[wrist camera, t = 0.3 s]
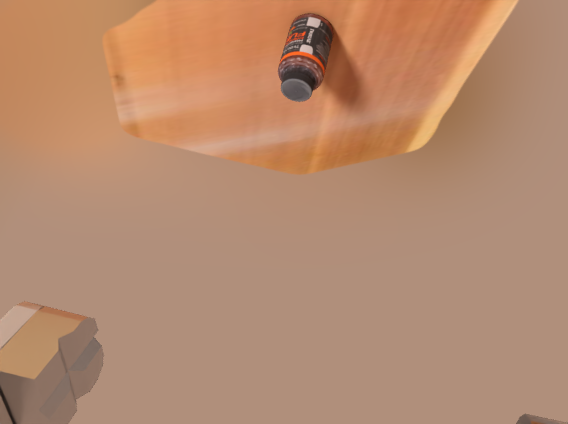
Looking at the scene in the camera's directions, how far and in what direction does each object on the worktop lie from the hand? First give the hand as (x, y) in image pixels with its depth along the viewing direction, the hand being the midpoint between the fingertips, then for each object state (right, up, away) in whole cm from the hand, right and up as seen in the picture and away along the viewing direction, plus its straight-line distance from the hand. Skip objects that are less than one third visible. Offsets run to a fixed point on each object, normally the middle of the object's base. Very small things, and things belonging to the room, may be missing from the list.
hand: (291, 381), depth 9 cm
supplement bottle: (+4, +28, +58) cm, 64 cm away
